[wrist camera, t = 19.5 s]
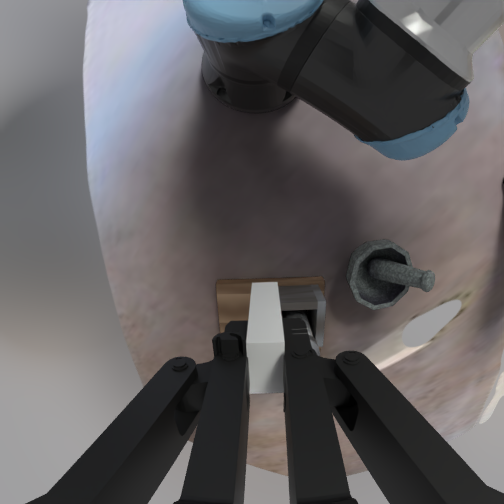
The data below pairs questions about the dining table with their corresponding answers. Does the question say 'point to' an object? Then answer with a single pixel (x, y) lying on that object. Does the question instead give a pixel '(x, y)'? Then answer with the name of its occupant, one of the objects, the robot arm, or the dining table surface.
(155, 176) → the dining table surface
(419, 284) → the mortar and pestle
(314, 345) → the pin
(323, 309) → the hitch board
